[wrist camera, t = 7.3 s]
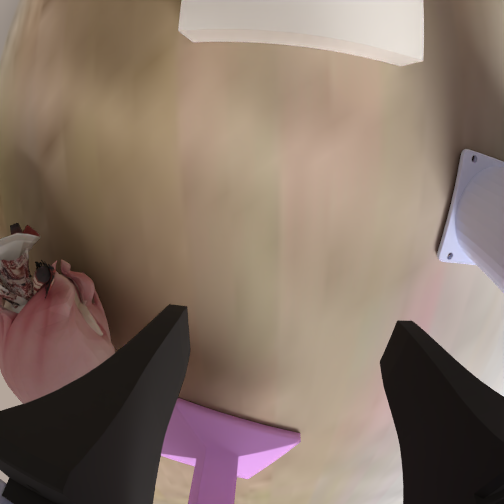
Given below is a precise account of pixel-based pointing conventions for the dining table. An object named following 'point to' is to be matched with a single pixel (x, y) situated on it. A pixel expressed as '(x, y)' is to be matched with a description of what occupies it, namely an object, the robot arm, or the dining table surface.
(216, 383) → the dining table surface
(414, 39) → the socket block
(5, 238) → the toy
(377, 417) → the dining table surface
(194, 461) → the pink table lamp
